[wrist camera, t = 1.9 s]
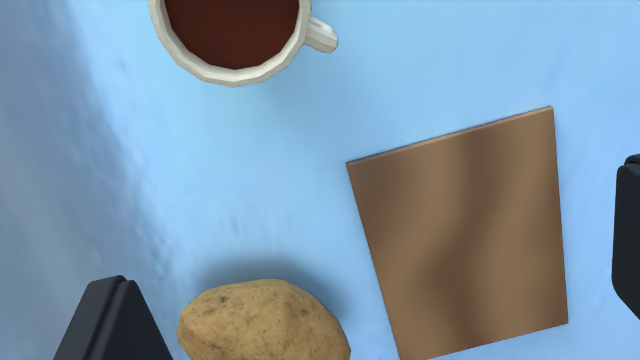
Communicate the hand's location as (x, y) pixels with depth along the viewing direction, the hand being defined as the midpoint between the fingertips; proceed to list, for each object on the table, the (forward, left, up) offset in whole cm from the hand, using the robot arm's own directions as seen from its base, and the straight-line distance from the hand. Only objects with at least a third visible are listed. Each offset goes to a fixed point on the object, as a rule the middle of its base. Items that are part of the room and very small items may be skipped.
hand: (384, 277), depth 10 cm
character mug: (+3, -3, -29) cm, 30 cm away
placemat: (-8, +23, -29) cm, 38 cm away
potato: (+10, +23, -29) cm, 38 cm away
